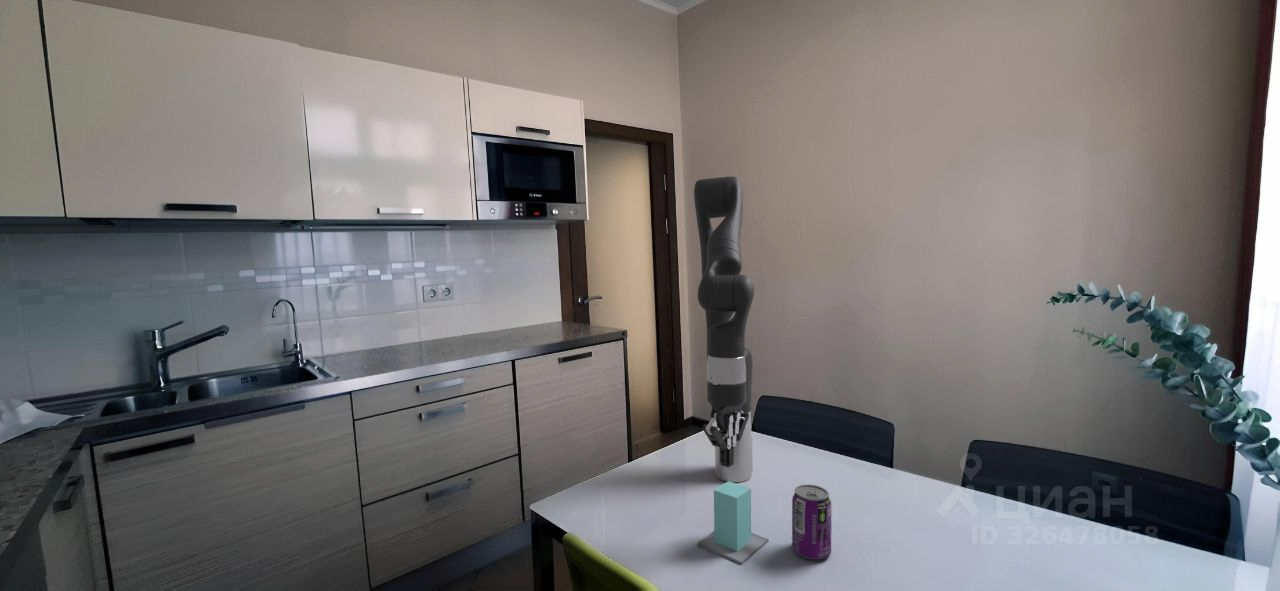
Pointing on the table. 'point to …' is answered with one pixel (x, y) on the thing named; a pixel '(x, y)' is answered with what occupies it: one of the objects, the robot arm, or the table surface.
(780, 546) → the table surface
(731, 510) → the tall teal block
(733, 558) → the post
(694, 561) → the table surface
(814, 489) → the beverage can
